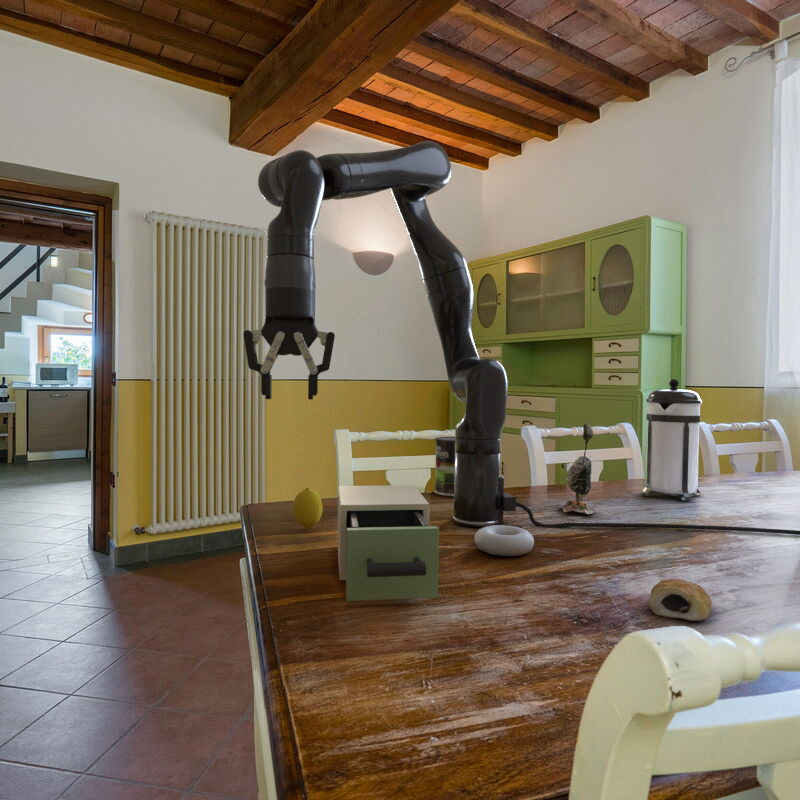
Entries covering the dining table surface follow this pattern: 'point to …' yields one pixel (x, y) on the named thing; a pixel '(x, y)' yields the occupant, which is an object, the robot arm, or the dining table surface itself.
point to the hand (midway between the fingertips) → (289, 398)
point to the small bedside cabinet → (373, 508)
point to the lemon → (307, 508)
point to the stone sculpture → (580, 479)
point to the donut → (504, 540)
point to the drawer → (391, 556)
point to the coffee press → (673, 442)
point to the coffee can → (445, 466)
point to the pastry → (680, 600)
